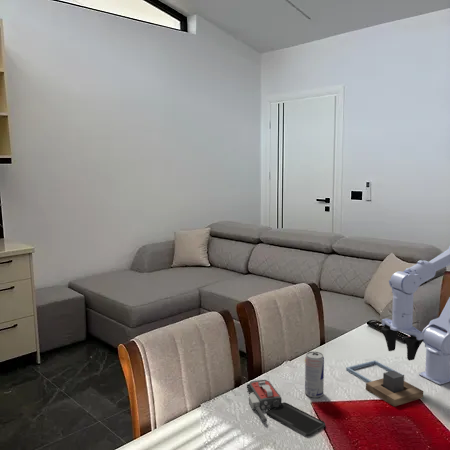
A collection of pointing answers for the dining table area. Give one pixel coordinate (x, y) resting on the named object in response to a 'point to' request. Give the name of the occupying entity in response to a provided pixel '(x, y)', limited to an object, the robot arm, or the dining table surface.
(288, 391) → the dining table surface
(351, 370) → the frame
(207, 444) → the dining table surface
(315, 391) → the energy drink
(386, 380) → the plug
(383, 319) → the robot arm
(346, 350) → the dining table surface
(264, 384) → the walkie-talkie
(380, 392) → the socket block
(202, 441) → the dining table surface
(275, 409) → the phone
